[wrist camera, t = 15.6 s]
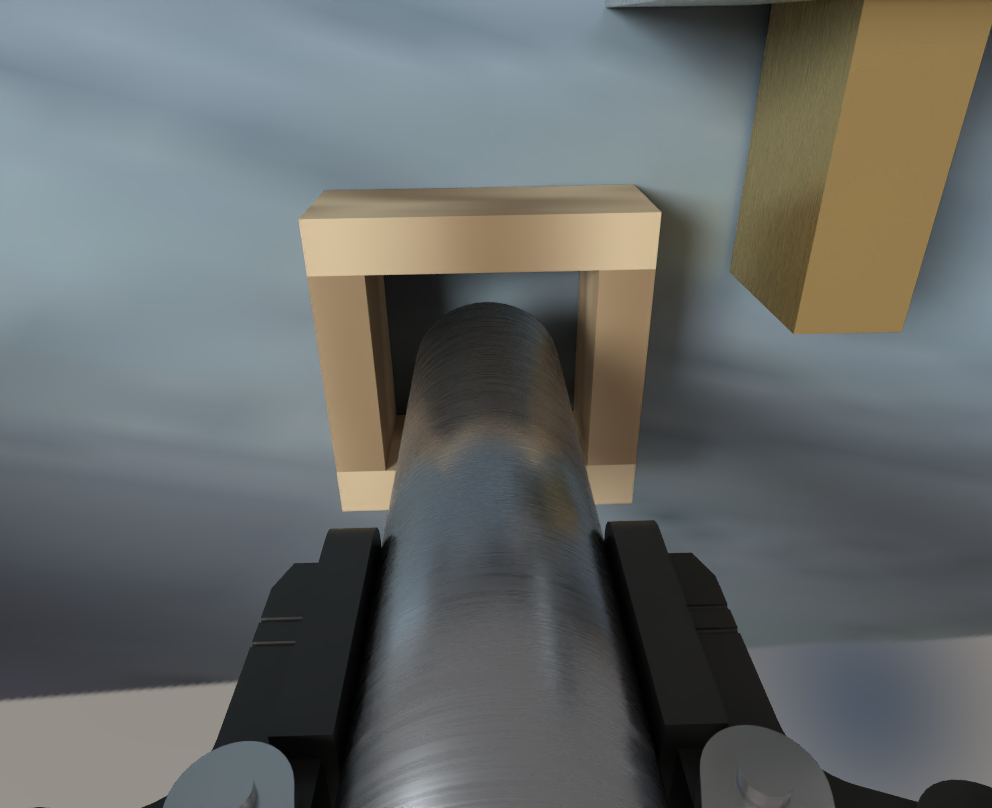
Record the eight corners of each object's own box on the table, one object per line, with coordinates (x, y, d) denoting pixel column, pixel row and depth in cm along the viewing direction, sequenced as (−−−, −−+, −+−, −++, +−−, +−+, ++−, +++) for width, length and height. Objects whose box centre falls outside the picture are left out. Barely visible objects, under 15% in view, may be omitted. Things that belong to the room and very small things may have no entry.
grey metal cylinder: (416, 436, 18) (291, 1301, 6) (405, 299, 16) (187, 1146, 4) (561, 433, 18) (734, 1283, 6) (566, 296, 16) (834, 1122, 4)
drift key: (729, 272, 19) (793, 333, 15) (794, -140, 15) (907, -199, 11) (816, 270, 19) (901, 331, 15) (906, -142, 15) (1057, -199, 11)
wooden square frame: (358, 451, 22) (342, 511, 19) (324, 190, 18) (298, 219, 15) (612, 445, 22) (631, 503, 19) (633, 184, 18) (661, 212, 15)
